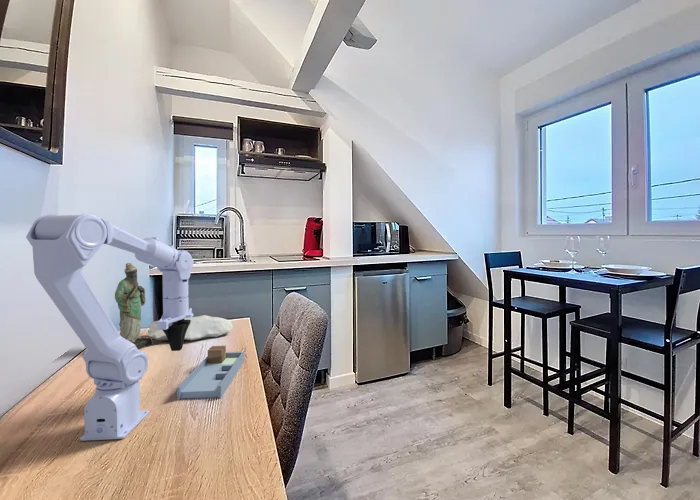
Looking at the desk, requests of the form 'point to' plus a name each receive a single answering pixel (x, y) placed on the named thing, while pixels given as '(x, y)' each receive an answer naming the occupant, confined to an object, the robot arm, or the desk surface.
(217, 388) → the box
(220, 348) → the block
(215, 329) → the stone
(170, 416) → the desk surface
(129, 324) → the figurine
